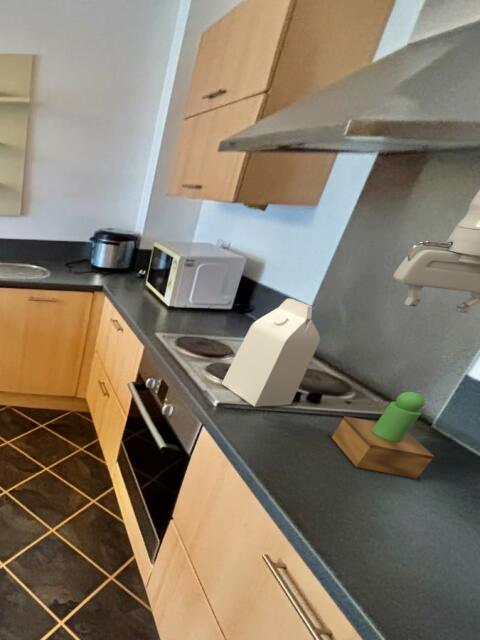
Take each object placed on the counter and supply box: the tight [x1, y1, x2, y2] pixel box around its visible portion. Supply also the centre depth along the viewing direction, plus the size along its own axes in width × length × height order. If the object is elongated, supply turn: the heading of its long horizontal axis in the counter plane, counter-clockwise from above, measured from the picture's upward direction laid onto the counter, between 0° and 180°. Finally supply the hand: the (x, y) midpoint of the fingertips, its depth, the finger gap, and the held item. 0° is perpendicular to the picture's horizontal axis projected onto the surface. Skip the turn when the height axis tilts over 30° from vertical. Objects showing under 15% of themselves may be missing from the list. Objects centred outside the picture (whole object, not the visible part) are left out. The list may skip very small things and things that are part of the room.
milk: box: [221, 298, 321, 408], centre depth 107 cm, size 12×12×26 cm
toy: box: [372, 391, 426, 442], centre depth 86 cm, size 5×5×10 cm
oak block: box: [331, 416, 435, 479], centre depth 90 cm, size 11×11×6 cm
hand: (434, 308), depth 92 cm, fingers open, 8 cm apart
